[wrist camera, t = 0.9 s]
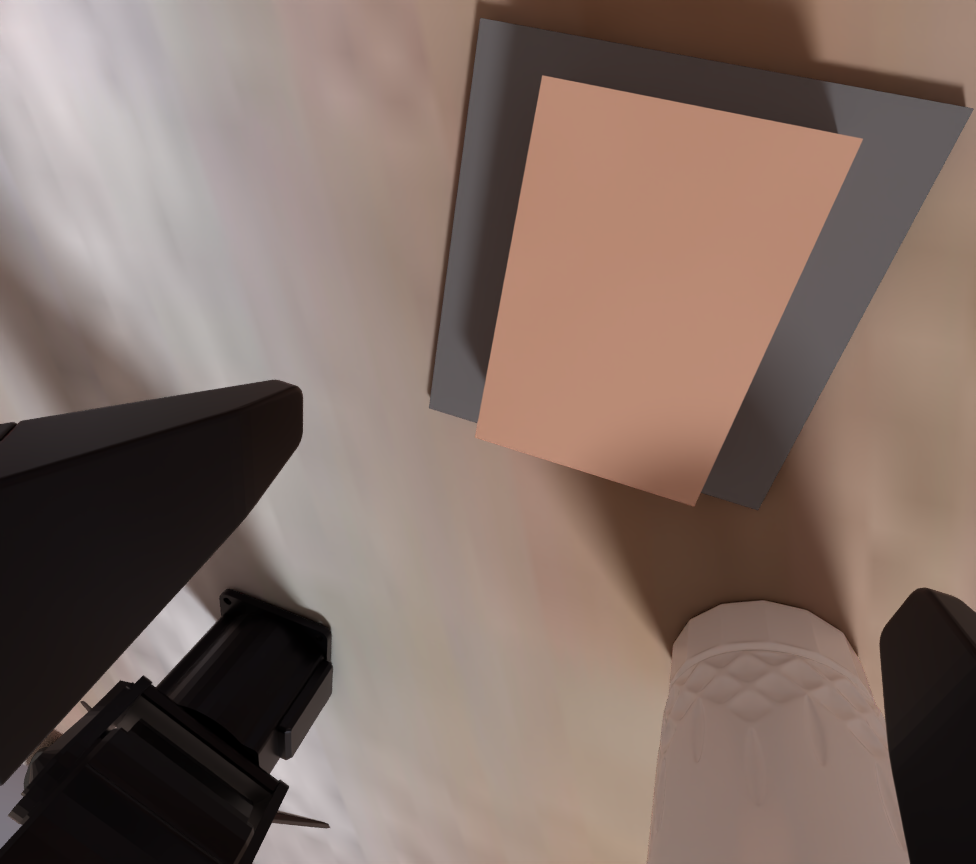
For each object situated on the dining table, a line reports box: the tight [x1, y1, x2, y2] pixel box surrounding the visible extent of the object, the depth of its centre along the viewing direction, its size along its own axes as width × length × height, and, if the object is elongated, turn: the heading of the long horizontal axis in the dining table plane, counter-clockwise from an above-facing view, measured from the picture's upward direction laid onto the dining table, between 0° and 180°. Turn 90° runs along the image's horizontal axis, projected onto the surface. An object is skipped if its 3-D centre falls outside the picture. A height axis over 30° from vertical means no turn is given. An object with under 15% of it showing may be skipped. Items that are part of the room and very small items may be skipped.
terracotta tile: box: [475, 75, 863, 506], centre depth 16 cm, size 7×10×2 cm
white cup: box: [647, 600, 910, 864], centre depth 19 cm, size 8×8×10 cm
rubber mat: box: [429, 18, 973, 510], centre depth 18 cm, size 12×12×1 cm
